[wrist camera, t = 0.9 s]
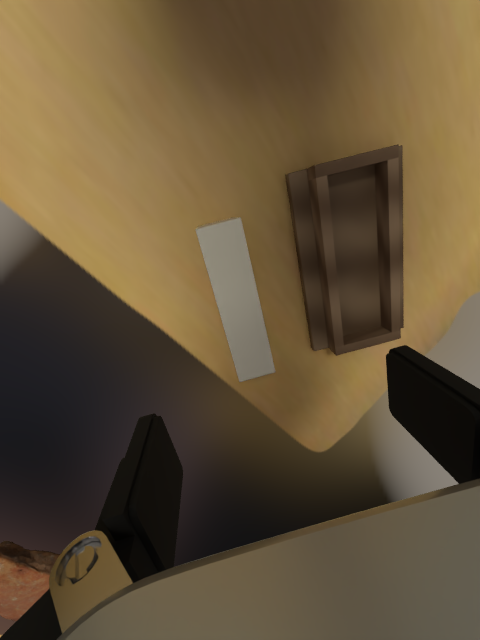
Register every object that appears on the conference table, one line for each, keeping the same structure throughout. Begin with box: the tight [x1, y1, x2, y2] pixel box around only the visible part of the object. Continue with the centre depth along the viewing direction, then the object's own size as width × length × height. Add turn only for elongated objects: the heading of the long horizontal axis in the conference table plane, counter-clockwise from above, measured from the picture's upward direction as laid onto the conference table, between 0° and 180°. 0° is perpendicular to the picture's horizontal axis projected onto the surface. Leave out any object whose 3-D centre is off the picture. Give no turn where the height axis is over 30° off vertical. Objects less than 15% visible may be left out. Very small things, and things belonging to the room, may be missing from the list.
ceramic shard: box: [0, 541, 60, 621], centre depth 39 cm, size 15×6×15 cm
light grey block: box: [195, 217, 275, 382], centre depth 26 cm, size 14×4×7 cm, turn 14°
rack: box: [285, 145, 403, 355], centre depth 28 cm, size 19×11×3 cm, turn 13°
